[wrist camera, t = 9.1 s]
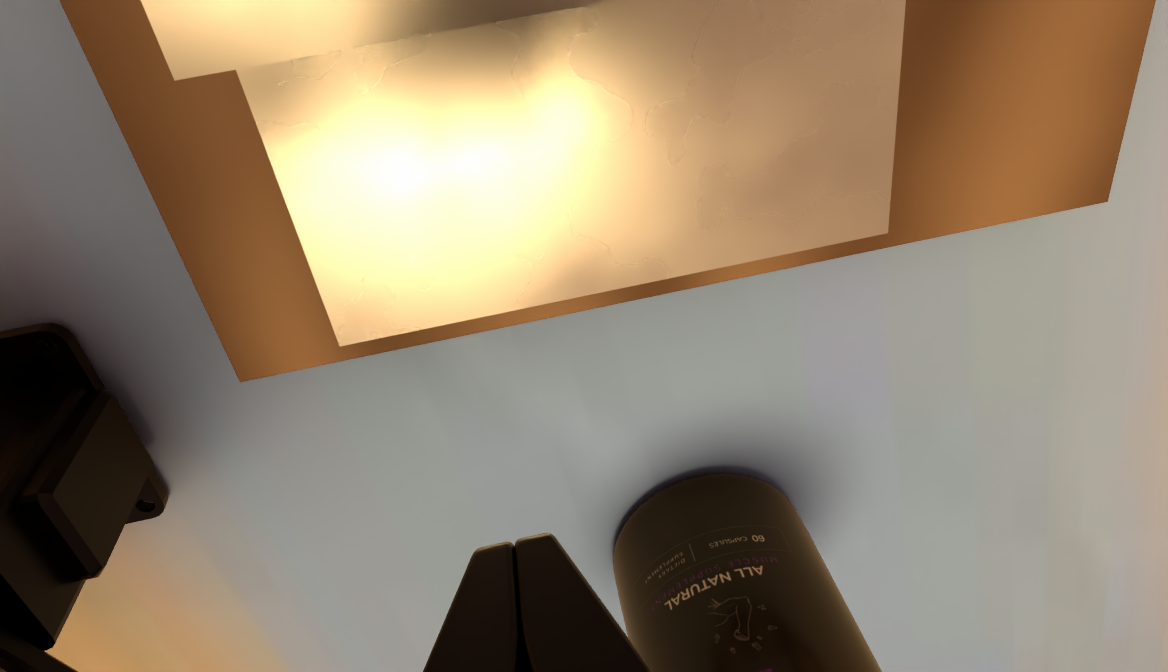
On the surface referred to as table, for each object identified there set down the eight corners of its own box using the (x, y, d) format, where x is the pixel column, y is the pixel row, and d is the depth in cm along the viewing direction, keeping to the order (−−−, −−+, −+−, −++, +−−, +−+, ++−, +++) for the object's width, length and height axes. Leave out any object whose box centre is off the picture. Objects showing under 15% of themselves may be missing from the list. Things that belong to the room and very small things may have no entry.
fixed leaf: (343, 326, 20) (322, 433, 16) (159, -181, 14) (58, -196, 10) (869, 218, 21) (965, 295, 17) (901, -301, 15) (1058, -355, 11)
